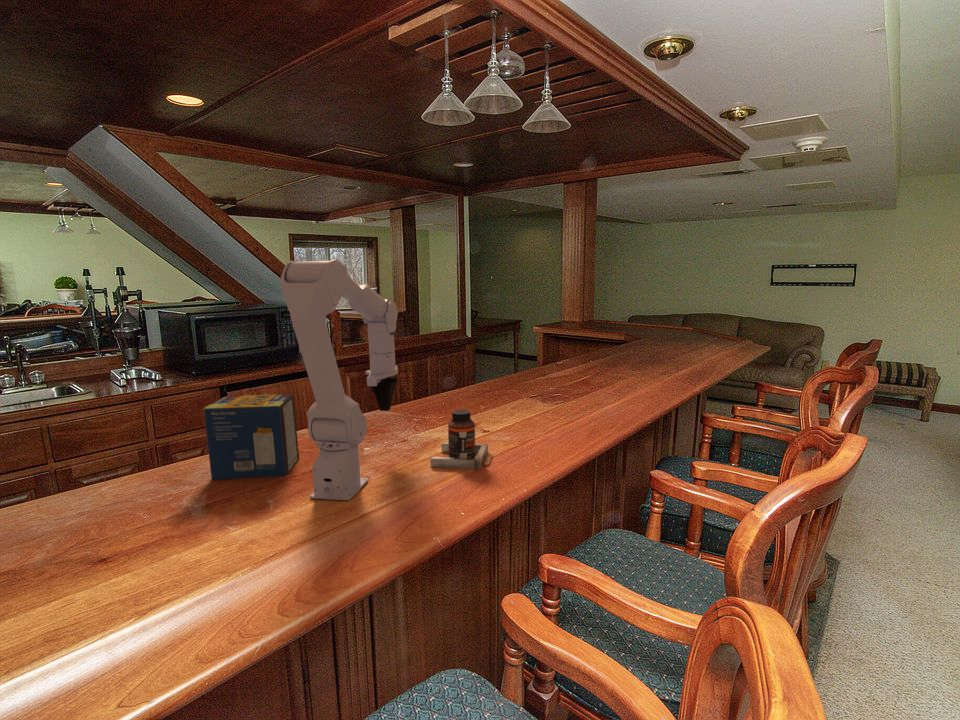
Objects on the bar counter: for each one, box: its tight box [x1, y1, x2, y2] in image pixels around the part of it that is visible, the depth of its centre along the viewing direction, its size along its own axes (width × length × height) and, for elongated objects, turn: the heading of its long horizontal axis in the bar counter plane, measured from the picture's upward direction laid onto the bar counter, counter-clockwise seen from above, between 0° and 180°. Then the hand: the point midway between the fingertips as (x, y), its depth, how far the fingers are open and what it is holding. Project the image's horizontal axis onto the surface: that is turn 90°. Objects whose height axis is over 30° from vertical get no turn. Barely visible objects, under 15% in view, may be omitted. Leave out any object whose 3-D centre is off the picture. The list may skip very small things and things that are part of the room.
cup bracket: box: [430, 441, 494, 471], centre depth 111 cm, size 11×12×2 cm
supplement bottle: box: [447, 409, 476, 458], centre depth 110 cm, size 6×6×11 cm
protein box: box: [202, 393, 300, 481], centre depth 107 cm, size 10×15×16 cm
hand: (385, 410), depth 115 cm, fingers closed
